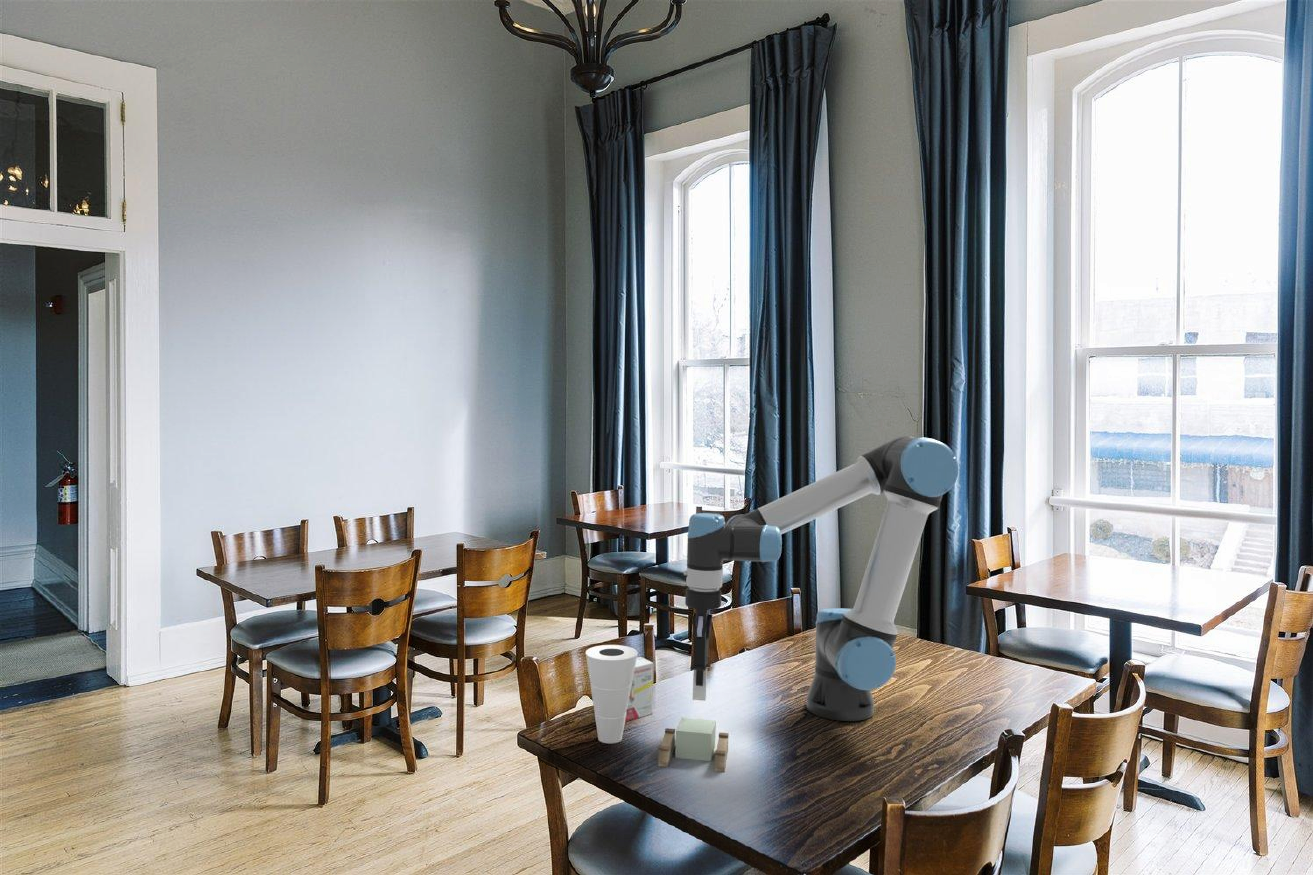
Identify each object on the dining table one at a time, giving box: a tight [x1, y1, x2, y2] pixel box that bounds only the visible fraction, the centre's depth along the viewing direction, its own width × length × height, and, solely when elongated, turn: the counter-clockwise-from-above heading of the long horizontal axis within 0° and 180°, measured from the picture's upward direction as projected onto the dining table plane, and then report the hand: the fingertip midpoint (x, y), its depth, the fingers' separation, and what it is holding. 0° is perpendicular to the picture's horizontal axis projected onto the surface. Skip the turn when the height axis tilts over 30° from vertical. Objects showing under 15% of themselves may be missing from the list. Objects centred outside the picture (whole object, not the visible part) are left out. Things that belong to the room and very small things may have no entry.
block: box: [674, 717, 717, 762], centre depth 167 cm, size 7×7×6 cm
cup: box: [585, 644, 639, 745], centre depth 173 cm, size 11×11×18 cm
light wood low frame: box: [657, 727, 729, 773], centre depth 164 cm, size 13×10×4 cm
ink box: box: [625, 656, 655, 723], centre depth 186 cm, size 9×5×12 cm, turn 130°
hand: (699, 698), depth 177 cm, fingers closed
